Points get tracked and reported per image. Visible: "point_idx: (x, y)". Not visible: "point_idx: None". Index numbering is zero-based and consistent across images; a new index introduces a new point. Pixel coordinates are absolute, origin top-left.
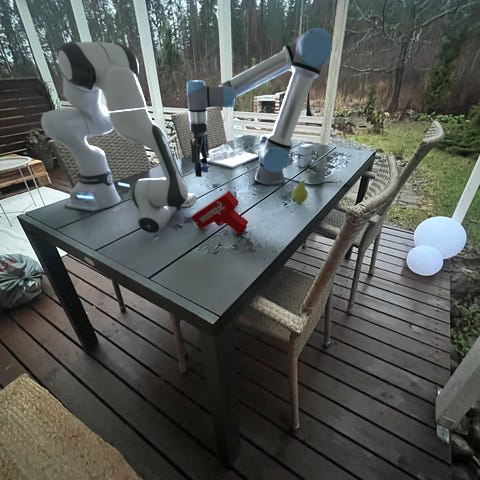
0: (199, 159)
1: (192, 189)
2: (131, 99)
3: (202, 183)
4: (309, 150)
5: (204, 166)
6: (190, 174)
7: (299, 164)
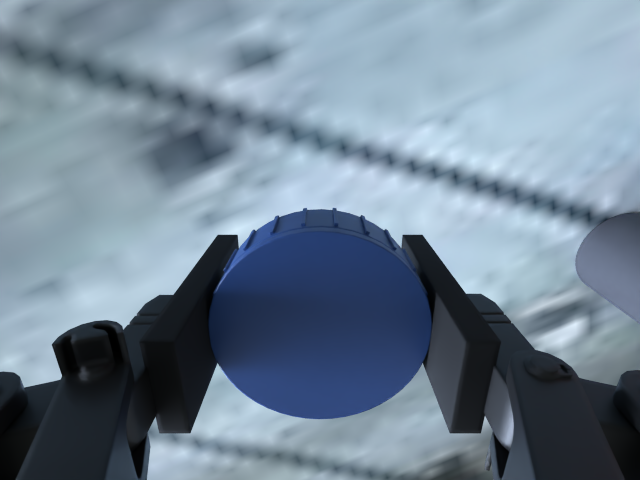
0: (548, 409)
1: None
2: None
3: (184, 270)
4: None
5: (373, 262)
6: None
7: None
